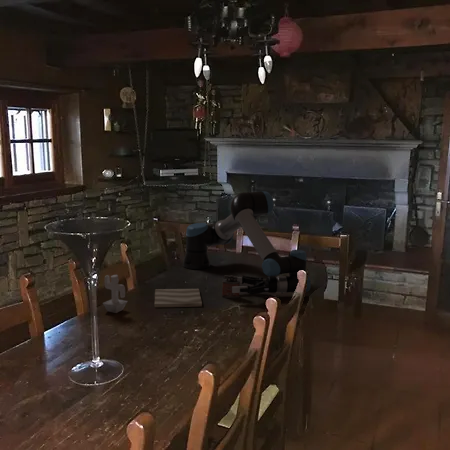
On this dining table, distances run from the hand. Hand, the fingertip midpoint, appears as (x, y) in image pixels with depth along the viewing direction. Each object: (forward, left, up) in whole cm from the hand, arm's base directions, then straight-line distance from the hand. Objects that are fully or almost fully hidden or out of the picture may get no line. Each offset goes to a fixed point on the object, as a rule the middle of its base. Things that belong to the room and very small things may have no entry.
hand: (229, 285), depth 226 cm
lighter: (-1, +1, -6) cm, 6 cm away
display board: (+1, -23, -6) cm, 24 cm away
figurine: (+14, -49, -6) cm, 52 cm away
